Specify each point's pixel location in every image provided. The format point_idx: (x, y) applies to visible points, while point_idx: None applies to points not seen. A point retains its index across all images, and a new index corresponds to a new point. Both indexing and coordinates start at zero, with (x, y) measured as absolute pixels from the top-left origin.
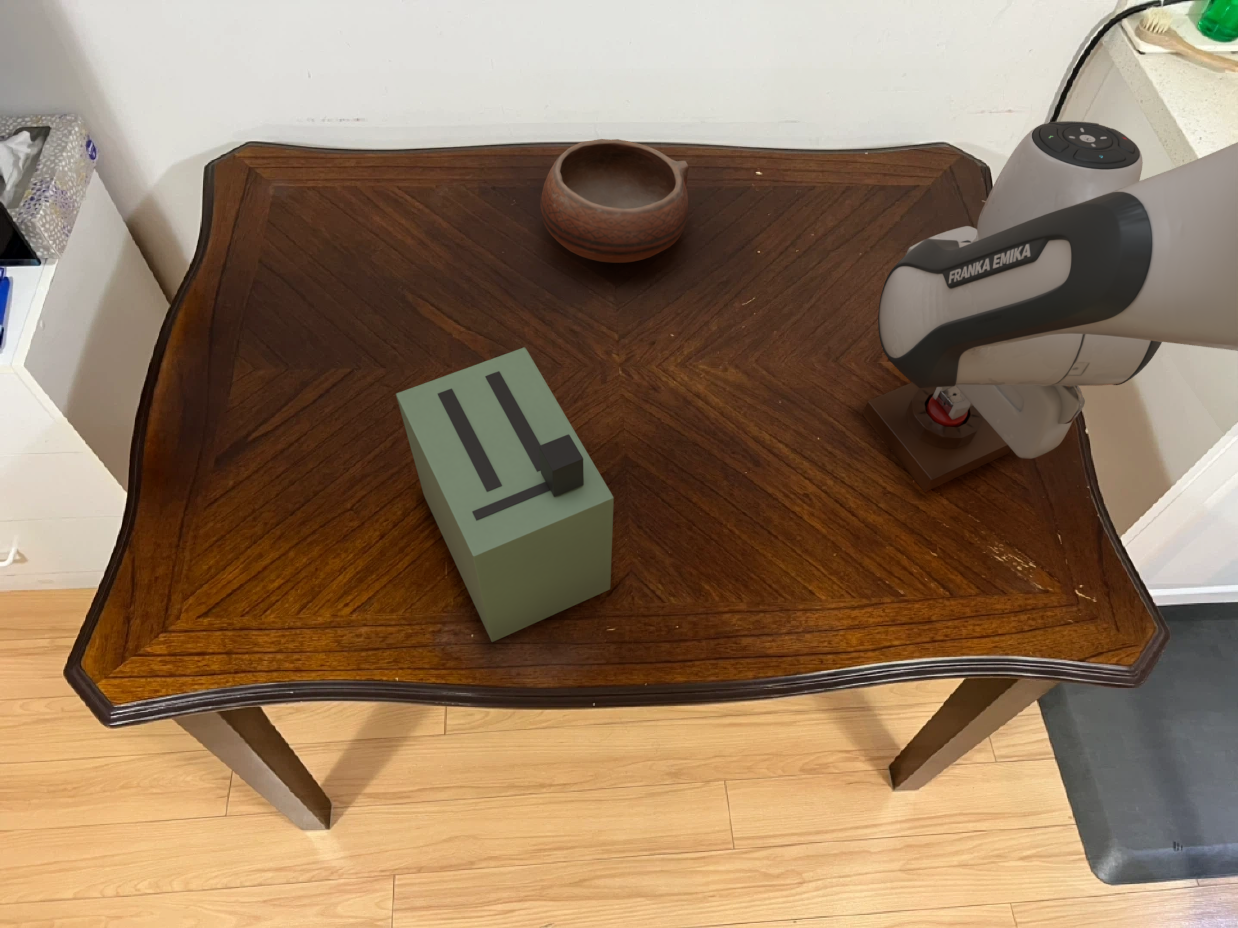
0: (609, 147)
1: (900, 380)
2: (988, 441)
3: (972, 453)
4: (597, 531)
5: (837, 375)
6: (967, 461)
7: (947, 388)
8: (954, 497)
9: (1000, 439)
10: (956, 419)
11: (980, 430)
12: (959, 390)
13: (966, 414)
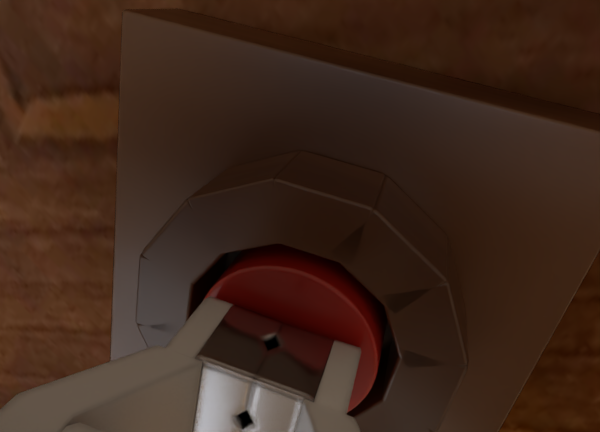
0: None
1: (103, 144)
2: (529, 258)
3: (506, 353)
4: None
5: (14, 267)
6: (512, 394)
7: (193, 415)
8: (540, 410)
9: (573, 207)
10: (354, 387)
11: (462, 231)
12: (240, 384)
13: (368, 334)
